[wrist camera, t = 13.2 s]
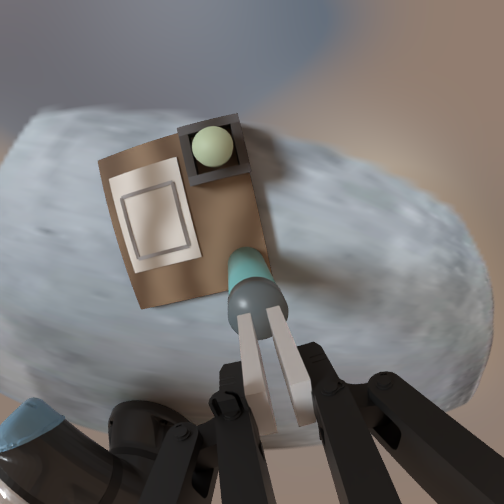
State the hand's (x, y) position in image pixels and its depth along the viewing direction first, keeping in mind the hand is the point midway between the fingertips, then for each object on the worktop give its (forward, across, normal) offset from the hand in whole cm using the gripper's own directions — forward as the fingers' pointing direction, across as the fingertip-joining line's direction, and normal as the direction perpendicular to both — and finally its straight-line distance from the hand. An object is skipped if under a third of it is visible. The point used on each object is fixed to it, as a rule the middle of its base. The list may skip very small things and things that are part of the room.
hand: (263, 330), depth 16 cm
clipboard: (+16, -6, +6) cm, 18 cm away
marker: (+15, 0, -1) cm, 15 cm away
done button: (+13, -1, +12) cm, 18 cm away
